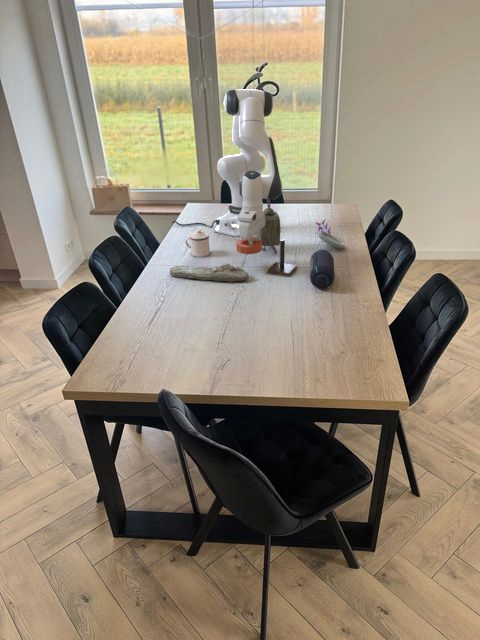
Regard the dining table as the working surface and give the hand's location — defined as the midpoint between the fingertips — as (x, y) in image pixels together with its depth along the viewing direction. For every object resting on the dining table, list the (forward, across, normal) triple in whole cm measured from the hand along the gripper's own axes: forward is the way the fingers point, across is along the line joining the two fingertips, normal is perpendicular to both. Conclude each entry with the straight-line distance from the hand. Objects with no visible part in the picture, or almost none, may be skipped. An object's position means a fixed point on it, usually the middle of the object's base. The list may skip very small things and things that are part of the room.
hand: (253, 242), depth 216 cm
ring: (+2, +4, 0) cm, 5 cm away
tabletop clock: (+11, -20, -1) cm, 22 cm away
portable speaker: (+10, +4, +34) cm, 35 cm away
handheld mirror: (+11, -42, +24) cm, 49 cm away
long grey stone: (+11, +20, -12) cm, 26 cm away
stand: (+10, +1, +14) cm, 18 cm away
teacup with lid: (+11, -3, -30) cm, 33 cm away
